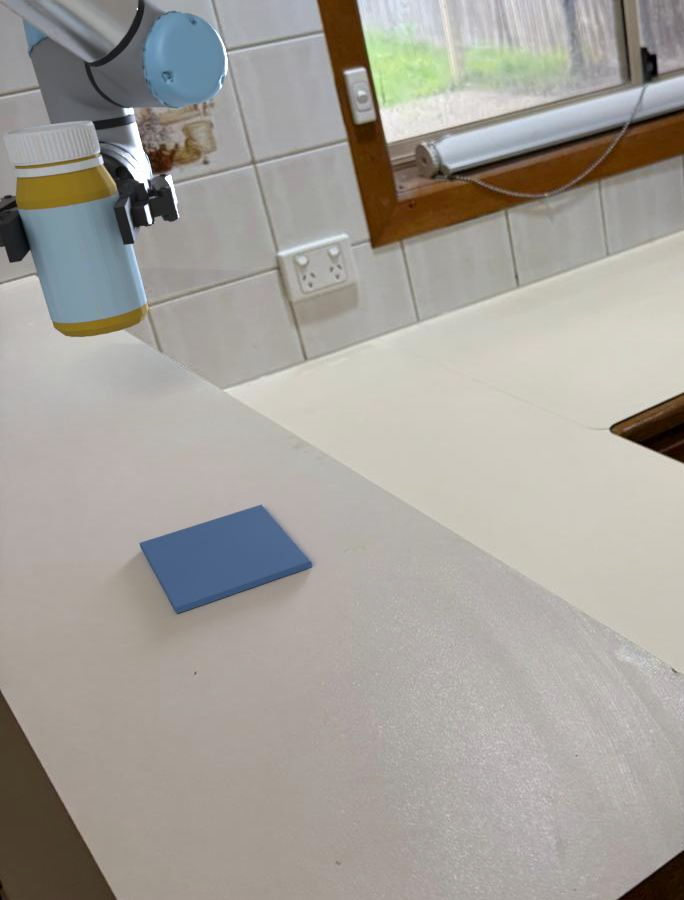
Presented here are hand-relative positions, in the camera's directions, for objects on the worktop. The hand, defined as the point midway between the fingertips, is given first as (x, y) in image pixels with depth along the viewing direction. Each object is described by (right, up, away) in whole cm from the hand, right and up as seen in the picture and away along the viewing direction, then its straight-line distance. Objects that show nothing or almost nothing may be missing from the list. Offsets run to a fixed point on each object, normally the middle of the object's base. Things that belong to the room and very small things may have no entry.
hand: (67, 234), depth 81 cm
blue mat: (+16, -22, -14) cm, 30 cm away
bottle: (-1, -6, +8) cm, 10 cm away
